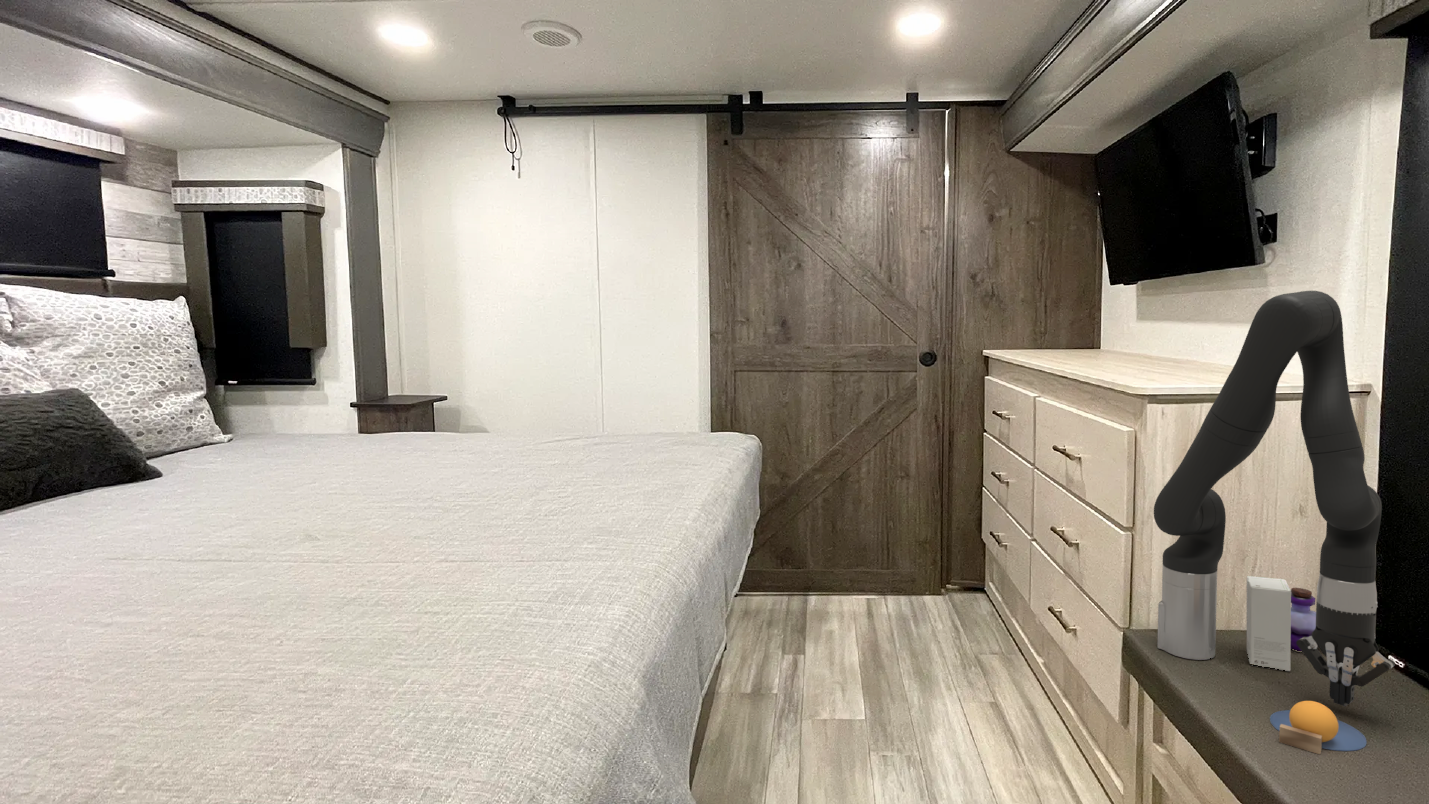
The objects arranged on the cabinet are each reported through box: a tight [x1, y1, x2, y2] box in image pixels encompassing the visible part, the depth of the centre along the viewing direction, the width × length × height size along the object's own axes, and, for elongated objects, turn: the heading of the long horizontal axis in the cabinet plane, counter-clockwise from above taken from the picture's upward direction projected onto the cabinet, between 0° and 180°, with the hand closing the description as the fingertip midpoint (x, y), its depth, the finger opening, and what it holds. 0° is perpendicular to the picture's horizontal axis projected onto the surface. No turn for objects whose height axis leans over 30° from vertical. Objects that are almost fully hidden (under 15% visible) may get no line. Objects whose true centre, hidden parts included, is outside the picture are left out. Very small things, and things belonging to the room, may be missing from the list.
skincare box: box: [1246, 575, 1292, 672], centre depth 142 cm, size 8×7×16 cm
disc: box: [1269, 709, 1367, 752], centre depth 118 cm, size 12×12×1 cm
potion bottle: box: [1290, 587, 1319, 651], centre depth 148 cm, size 9×9×12 cm
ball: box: [1289, 700, 1339, 742], centre depth 115 cm, size 6×6×6 cm
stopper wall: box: [1278, 724, 1323, 755], centre depth 114 cm, size 5×1×2 cm, turn 43°
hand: (1341, 703), depth 123 cm, fingers closed
